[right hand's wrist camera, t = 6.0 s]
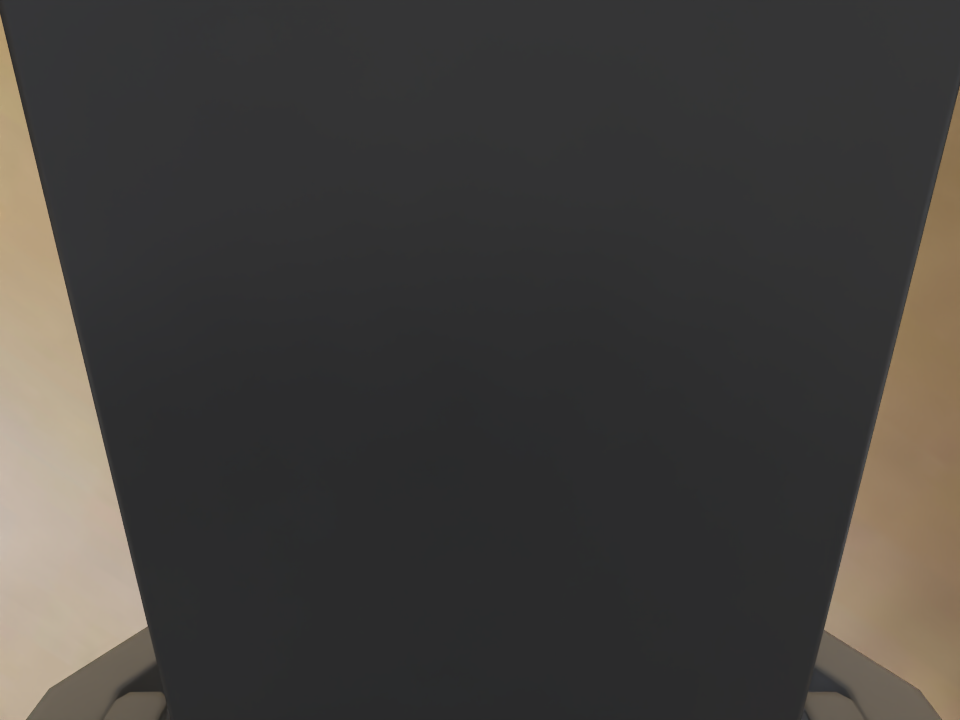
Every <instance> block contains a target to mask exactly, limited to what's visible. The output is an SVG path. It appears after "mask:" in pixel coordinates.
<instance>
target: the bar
mask: <svg viewBox="0 0 960 720" xmlns="http://www.w3.org/2000/svg"><path fill="white" fill-rule="evenodd" d="M0 15H1V19H2V23H3V27H4V31H5V35H6V40H7V44H8V48H9V52H10V56H11V60H12V64H13V69H14V73H15V77H16V81H17V85H18V89H19V94H20V98H21V102H22V106H23V110H24V114H25V118H26V123H27V127H28V131H29V135H30V139H31V143H32V147H33V152H34V156H35V160H36V164H37V168H38V172H39V176H40V181H41V185H42V189H43V193H44V197H45V201H46V205H47V210H48V214H49V218H50V222H51V226H52V230H53V234H54V239H55V243H56V247H57V251H58V255H59V259H60V264H61V268H62V272H63V276H64V280H65V284H66V288H67V293H68V297H69V301H70V305H71V309H72V313H73V317H74V322H75V326H76V330H77V334H78V338H79V342H80V346H81V351H82V355H83V359H84V363H85V367H86V371H87V375H88V380H89V384H90V388H91V392H92V396H93V400H94V404H95V409H96V413H97V417H98V421H99V425H100V429H101V434H102V438H103V442H104V446H105V450H106V454H107V458H108V463H109V467H110V471H111V475H112V479H113V483H114V487H115V492H116V496H117V500H118V504H119V508H120V512H121V516H122V521H123V525H124V529H125V533H126V537H127V541H128V545H129V550H130V554H131V558H132V562H133V566H134V570H135V574H136V579H137V583H138V587H139V591H140V595H141V599H142V604H143V608H144V612H145V616H146V620H147V624H148V628H149V633H150V637H151V641H152V645H153V649H154V653H155V657H156V662H157V666H158V670H159V674H160V678H161V682H162V686H163V691H164V695H165V699H166V703H167V707H168V711H169V715H170V720H801V718H802V714H803V710H804V706H805V702H806V698H807V694H808V690H809V686H810V682H811V678H812V674H813V670H814V666H815V662H816V658H817V654H818V650H819V646H820V642H821V638H822V634H823V630H824V626H825V622H826V618H827V614H828V610H829V606H830V602H831V598H832V594H833V590H834V586H835V582H836V578H837V574H838V570H839V566H840V562H841V558H842V554H843V550H844V546H845V542H846V538H847V534H848V530H849V526H850V522H851V518H852V514H853V510H854V506H855V502H856V498H857V494H858V490H859V486H860V482H861V478H862V474H863V470H864V466H865V462H866V458H867V454H868V450H869V446H870V442H871V438H872V434H873V430H874V426H875V422H876V418H877V414H878V410H879V406H880V402H881V398H882V394H883V390H884V386H885V382H886V378H887V374H888V370H889V366H890V362H891V358H892V354H893V350H894V346H895V342H896V338H897V334H898V330H899V326H900V322H901V318H902V314H903V310H904V306H905V302H906V298H907V294H908V290H909V286H910V282H911V278H912V274H913V270H914V266H915V262H916V258H917V254H918V250H919V246H920V242H921V238H922V234H923V230H924V226H925V222H926V218H927V214H928V210H929V206H930V202H931V198H932V194H933V190H934V186H935V182H936V178H937V174H938V170H939V166H940V162H941V158H942V154H943V150H944V146H945V142H946V138H947V134H948V130H949V126H950V122H951V118H952V114H953V110H954V106H955V102H956V98H957V94H958V90H959V86H960V0H0Z"/></svg>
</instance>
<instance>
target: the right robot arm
mask: <svg viewBox="0 0 960 720" xmlns="http://www.w3.org/2000/svg"><path fill="white" fill-rule="evenodd" d="M26 720H170V715H169V711H168V707H167V703H166V699H165V695H164V691H163V686H162V682H161V678H160V674H159V670H158V666H157V662H156V657H155V653H154V649H153V645H152V641H151V637H150V633H149V628H148V627H146V628H145V629H143V630H141V631H140V632H138V633H137V634H135V635H134V636H132V637H130V638H129V639H127V640H126V641H124V642H122V643H121V644H119V645H118V646H116V647H115V648H113V649H111V650H110V651H108V652H107V653H105V654H104V655H102V656H100V657H99V658H97V659H96V660H94V661H92V662H91V663H89V664H88V665H86V666H85V667H83V668H81V669H80V670H78V671H77V672H75V673H73V674H72V675H70V676H69V677H67V678H66V679H64V680H62V681H61V682H59V683H58V684H56V685H55V686H53V687H51V688H50V689H49V690H48V691H47V692H46V694H45V695H44V696H43V698H42V699H41V700H40V702H39V703H38V704H37V706H36V707H35V708H34V710H33V711H32V712H31V714H30V715H29V716H28V718H27V719H26ZM801 720H942V719H941V718H940V716H939V715H938V714H937V712H936V711H935V710H934V708H933V707H932V706H931V704H930V703H929V702H928V700H927V699H926V698H925V696H924V695H923V694H922V692H921V691H920V690H919V689H917V688H916V687H914V686H913V685H911V684H909V683H908V682H906V681H905V680H903V679H901V678H900V677H898V676H897V675H895V674H893V673H892V672H890V671H889V670H887V669H885V668H884V667H882V666H881V665H879V664H878V663H876V662H874V661H873V660H871V659H870V658H868V657H866V656H865V655H863V654H862V653H860V652H858V651H857V650H855V649H854V648H852V647H850V646H849V645H847V644H846V643H844V642H843V641H841V640H839V639H838V638H836V637H835V636H833V635H831V634H830V633H828V632H827V631H825V630H823V634H822V638H821V642H820V646H819V650H818V654H817V658H816V662H815V666H814V670H813V674H812V678H811V682H810V686H809V690H808V694H807V698H806V702H805V706H804V710H803V714H802V718H801Z"/></svg>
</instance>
